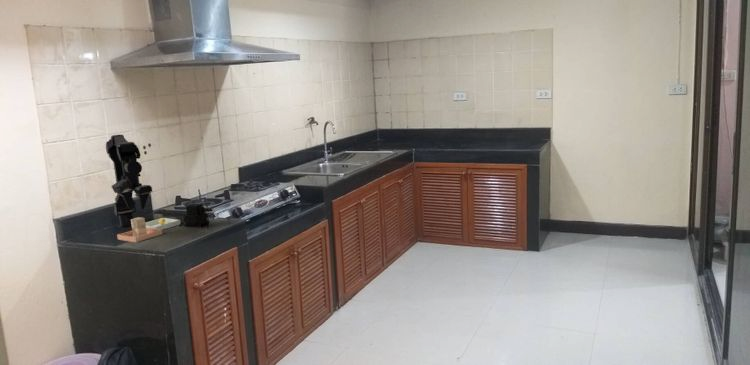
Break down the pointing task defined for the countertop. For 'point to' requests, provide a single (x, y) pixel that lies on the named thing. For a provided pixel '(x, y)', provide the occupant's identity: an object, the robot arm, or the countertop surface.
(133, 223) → the birch block
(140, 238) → the terracotta dish
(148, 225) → the grey tub
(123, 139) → the robot arm
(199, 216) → the toy
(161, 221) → the mustard ball
